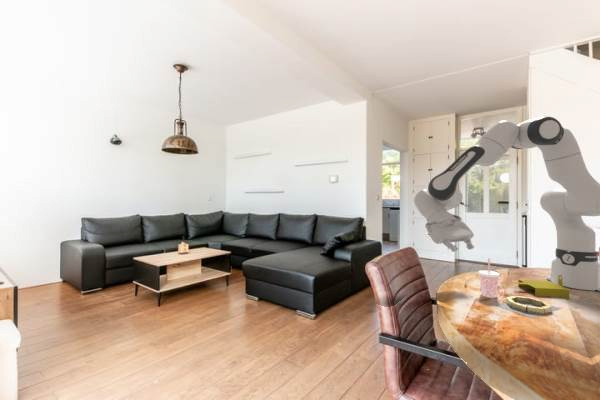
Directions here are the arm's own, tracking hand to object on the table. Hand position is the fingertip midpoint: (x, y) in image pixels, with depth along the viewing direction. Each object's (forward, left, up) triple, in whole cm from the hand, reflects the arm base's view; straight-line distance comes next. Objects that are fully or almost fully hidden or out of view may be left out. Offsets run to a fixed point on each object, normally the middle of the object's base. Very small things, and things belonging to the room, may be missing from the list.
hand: (463, 249), depth 108 cm
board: (0, +21, -15) cm, 26 cm away
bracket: (-20, +14, -16) cm, 30 cm away
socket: (0, +21, -14) cm, 26 cm away
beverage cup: (0, +9, -16) cm, 18 cm away
